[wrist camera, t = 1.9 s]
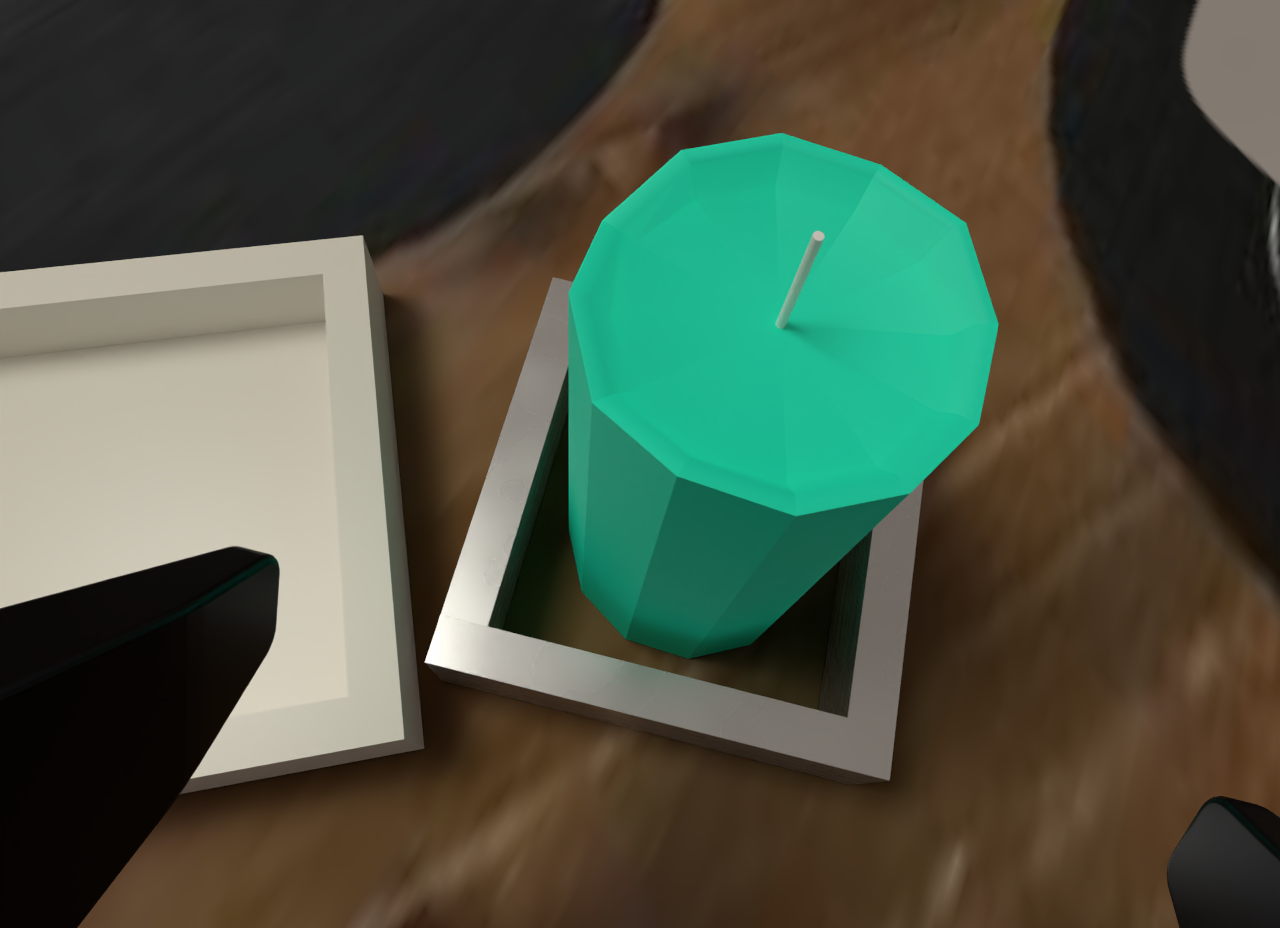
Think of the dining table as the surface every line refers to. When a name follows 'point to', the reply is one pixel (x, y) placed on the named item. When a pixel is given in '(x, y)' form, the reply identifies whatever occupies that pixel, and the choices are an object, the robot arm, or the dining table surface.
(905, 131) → the dining table surface
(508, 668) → the steel collar
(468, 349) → the dining table surface
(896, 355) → the candle
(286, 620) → the tray
